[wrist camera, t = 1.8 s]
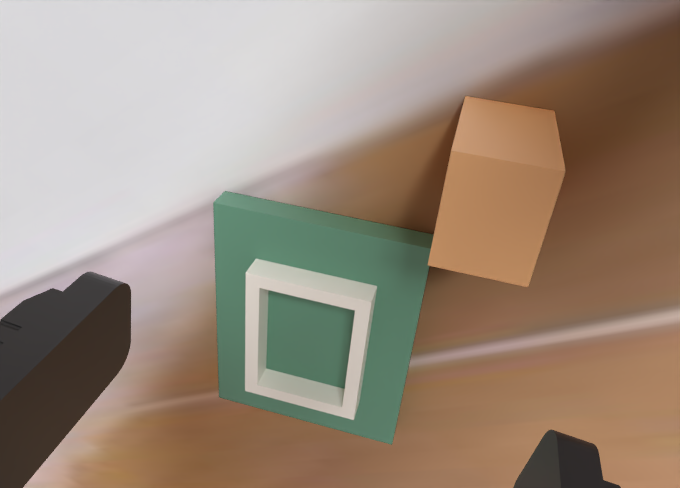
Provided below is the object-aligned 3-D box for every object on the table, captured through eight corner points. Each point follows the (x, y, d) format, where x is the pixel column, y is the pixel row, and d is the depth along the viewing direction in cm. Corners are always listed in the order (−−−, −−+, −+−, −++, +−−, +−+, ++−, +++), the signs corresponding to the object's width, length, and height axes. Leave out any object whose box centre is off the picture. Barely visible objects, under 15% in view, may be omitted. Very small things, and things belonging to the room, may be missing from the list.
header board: (436, 235, 31) (429, 264, 28) (396, 427, 38) (387, 463, 36) (225, 191, 33) (200, 215, 30) (228, 381, 41) (209, 413, 38)
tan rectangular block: (554, 110, 26) (565, 171, 20) (521, 222, 29) (522, 303, 23) (465, 95, 27) (451, 150, 21) (442, 206, 30) (423, 281, 24)
